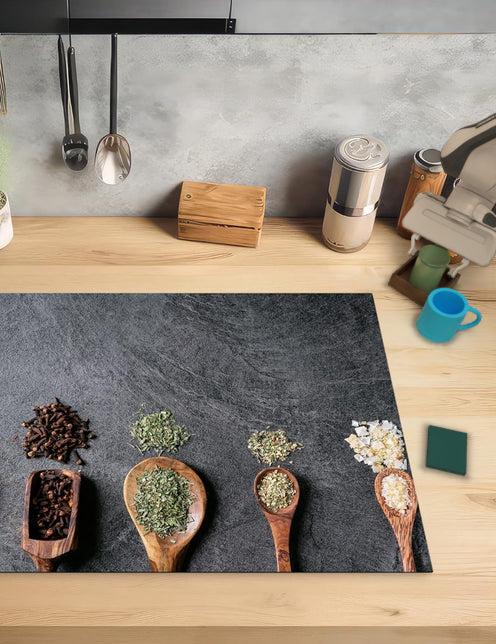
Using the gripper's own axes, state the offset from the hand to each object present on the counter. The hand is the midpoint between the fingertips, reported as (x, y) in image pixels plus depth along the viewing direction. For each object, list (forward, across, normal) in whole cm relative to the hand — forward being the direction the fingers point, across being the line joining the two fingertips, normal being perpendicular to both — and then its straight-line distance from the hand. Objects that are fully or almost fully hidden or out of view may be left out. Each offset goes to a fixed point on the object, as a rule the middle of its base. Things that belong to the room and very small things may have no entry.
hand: (430, 265), depth 159 cm
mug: (+10, +10, -1) cm, 14 cm away
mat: (+29, +24, -20) cm, 43 cm away
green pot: (+4, 0, +4) cm, 6 cm away
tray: (+4, 0, +4) cm, 6 cm away
